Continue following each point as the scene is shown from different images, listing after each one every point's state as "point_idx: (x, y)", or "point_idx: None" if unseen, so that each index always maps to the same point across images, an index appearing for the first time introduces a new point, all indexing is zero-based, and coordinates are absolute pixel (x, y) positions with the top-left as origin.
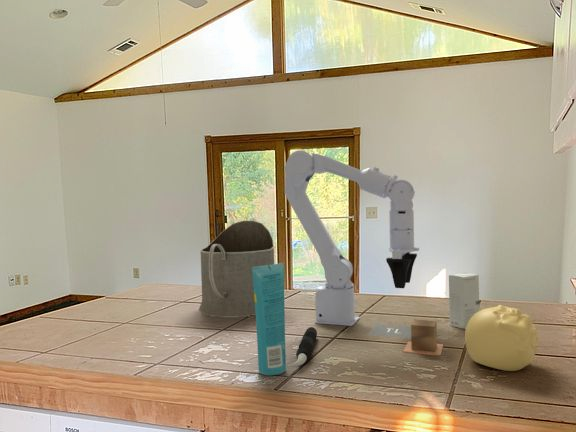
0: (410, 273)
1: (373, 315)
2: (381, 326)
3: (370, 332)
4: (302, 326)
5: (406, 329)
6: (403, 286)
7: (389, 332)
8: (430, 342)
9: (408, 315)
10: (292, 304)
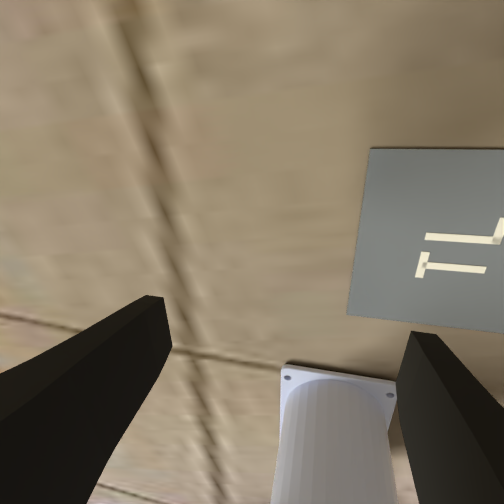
0: (107, 343)
1: (219, 326)
2: (384, 296)
3: (488, 327)
4: (410, 480)
5: (424, 199)
6: (446, 350)
7: (486, 262)
8: None
9: (168, 213)
10: (183, 487)
